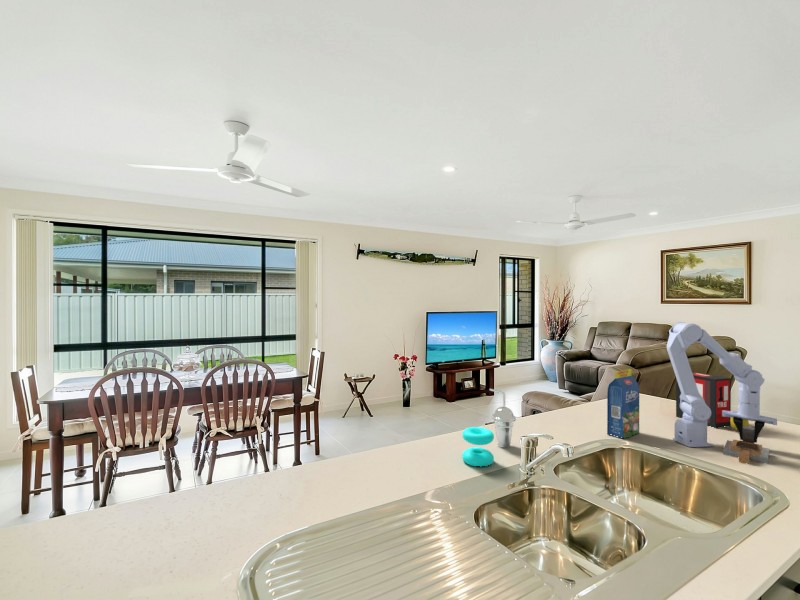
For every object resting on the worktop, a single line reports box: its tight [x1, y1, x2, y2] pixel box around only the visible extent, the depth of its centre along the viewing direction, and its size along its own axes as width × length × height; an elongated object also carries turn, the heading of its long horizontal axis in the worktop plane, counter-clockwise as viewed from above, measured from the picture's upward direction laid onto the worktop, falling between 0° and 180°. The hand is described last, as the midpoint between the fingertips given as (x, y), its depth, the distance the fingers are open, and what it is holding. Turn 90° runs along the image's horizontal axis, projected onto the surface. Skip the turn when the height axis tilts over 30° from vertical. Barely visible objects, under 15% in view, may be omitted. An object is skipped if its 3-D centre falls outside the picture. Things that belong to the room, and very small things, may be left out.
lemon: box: [730, 417, 750, 432], centre depth 155 cm, size 6×6×8 cm
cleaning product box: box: [675, 371, 732, 429], centre depth 169 cm, size 16×9×20 cm, turn 17°
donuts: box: [461, 426, 495, 468], centre depth 126 cm, size 10×10×10 cm
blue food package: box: [606, 368, 640, 439], centre depth 152 cm, size 6×12×25 cm, turn 123°
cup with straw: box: [489, 388, 517, 448], centre depth 140 cm, size 8×9×20 cm
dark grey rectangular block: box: [741, 426, 756, 444], centre depth 139 cm, size 4×3×7 cm
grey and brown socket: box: [723, 439, 770, 465], centre depth 131 cm, size 16×11×3 cm
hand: (748, 440), depth 139 cm, fingers closed on dark grey rectangular block, 3 cm apart
